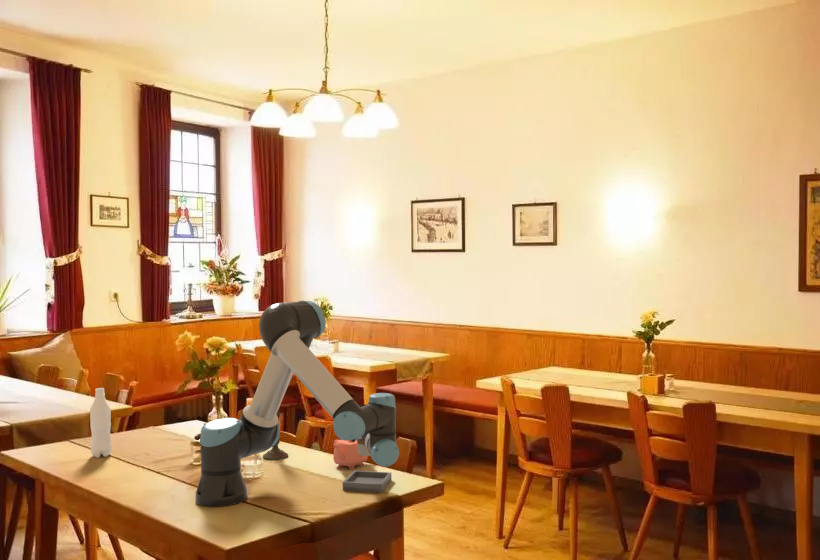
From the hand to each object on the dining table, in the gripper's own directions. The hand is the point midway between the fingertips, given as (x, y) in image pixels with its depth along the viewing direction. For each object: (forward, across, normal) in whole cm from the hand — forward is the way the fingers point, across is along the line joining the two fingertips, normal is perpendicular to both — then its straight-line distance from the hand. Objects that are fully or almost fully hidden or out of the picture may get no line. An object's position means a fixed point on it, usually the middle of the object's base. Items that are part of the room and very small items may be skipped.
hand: (364, 423), depth 238 cm
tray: (-5, 0, -19) cm, 19 cm away
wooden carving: (+56, -49, -18) cm, 77 cm away
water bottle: (+53, -90, -18) cm, 106 cm away
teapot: (+18, -2, -19) cm, 26 cm away
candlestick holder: (+36, -28, -19) cm, 49 cm away
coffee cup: (-5, 0, -9) cm, 10 cm away
